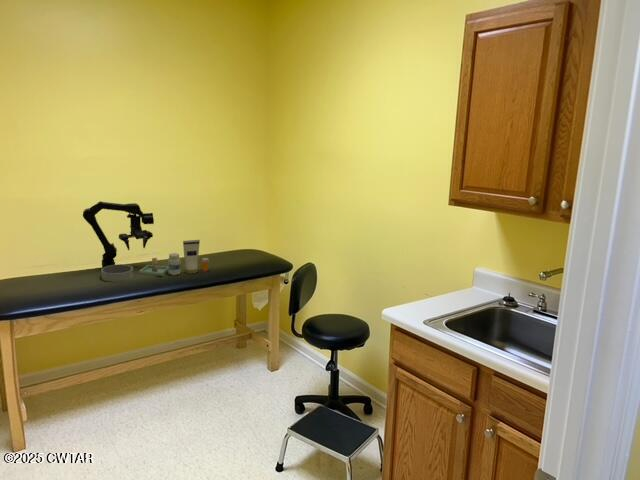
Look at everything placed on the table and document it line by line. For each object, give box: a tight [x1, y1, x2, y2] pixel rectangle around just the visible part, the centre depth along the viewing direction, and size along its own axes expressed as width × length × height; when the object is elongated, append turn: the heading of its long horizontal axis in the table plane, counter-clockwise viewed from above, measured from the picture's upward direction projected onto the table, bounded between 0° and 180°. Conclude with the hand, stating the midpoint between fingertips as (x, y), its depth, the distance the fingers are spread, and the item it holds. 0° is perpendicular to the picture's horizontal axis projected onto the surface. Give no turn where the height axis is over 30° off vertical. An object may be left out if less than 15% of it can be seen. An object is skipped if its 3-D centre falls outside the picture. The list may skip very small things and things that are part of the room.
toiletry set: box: [167, 239, 210, 276], centre depth 276 cm, size 25×8×20 cm, turn 120°
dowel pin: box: [151, 257, 158, 272], centre depth 271 cm, size 3×3×8 cm
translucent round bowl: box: [100, 263, 134, 283], centre depth 259 cm, size 17×17×6 cm
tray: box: [138, 264, 168, 277], centre depth 272 cm, size 14×12×2 cm
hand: (136, 249), depth 276 cm, fingers open, 9 cm apart
